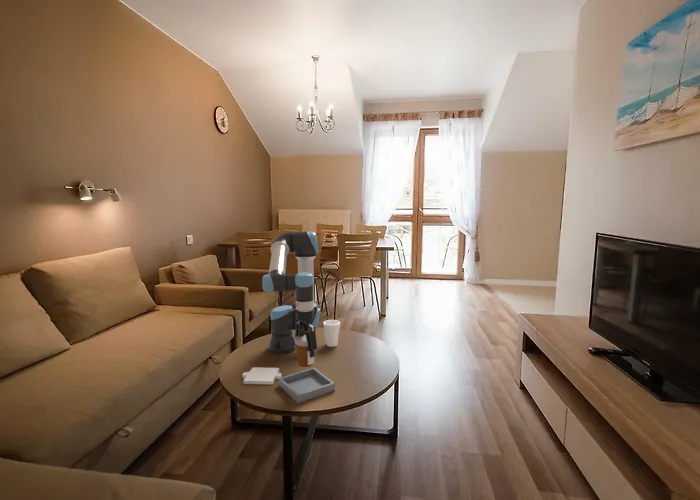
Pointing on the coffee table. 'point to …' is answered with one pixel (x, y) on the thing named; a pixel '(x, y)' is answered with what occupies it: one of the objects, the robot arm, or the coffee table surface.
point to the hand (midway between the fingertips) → (305, 360)
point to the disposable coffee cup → (302, 350)
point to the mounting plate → (261, 375)
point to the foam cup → (331, 332)
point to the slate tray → (306, 385)
